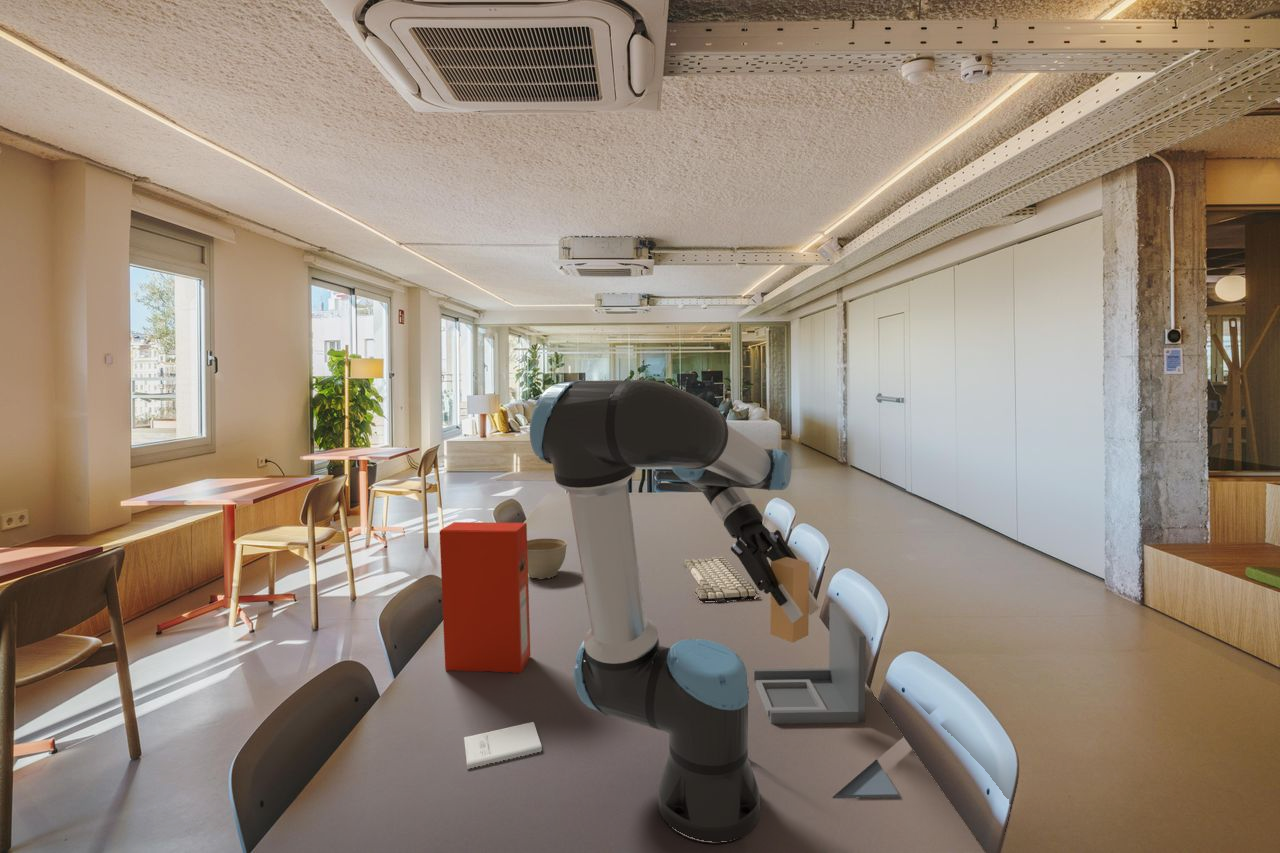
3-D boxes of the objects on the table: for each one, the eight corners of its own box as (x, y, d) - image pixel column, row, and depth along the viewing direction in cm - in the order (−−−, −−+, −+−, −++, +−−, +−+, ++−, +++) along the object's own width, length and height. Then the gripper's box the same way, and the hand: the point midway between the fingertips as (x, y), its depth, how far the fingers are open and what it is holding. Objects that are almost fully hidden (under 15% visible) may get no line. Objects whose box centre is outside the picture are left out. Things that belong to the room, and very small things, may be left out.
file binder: (520, 674, 125) (516, 531, 123) (444, 671, 127) (439, 530, 125) (530, 656, 134) (526, 522, 131) (459, 654, 135) (454, 521, 133)
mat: (833, 798, 86) (833, 795, 86) (813, 755, 96) (813, 753, 96) (898, 797, 86) (898, 794, 86) (872, 755, 96) (872, 752, 96)
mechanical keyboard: (674, 566, 202) (674, 557, 202) (726, 563, 204) (726, 554, 204) (700, 606, 165) (700, 595, 164) (763, 603, 167) (763, 591, 167)
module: (792, 642, 105) (793, 567, 104) (770, 634, 109) (770, 561, 108) (808, 635, 108) (809, 562, 107) (786, 627, 112) (786, 556, 111)
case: (771, 731, 103) (771, 637, 102) (753, 685, 119) (753, 604, 118) (869, 730, 103) (870, 636, 102) (838, 684, 119) (839, 602, 118)
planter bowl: (577, 574, 192) (576, 543, 192) (538, 587, 181) (537, 553, 180) (547, 564, 204) (547, 535, 203) (509, 576, 192) (508, 544, 191)
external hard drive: (542, 755, 98) (467, 772, 94) (533, 729, 106) (464, 744, 102) (541, 746, 98) (466, 763, 94) (533, 720, 106) (463, 735, 102)
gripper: (755, 517, 125) (821, 612, 113) (697, 530, 113) (764, 638, 101) (775, 496, 120) (846, 593, 109) (717, 508, 109) (790, 617, 97)
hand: (806, 614), depth 105 cm, fingers closed on module, 5 cm apart
